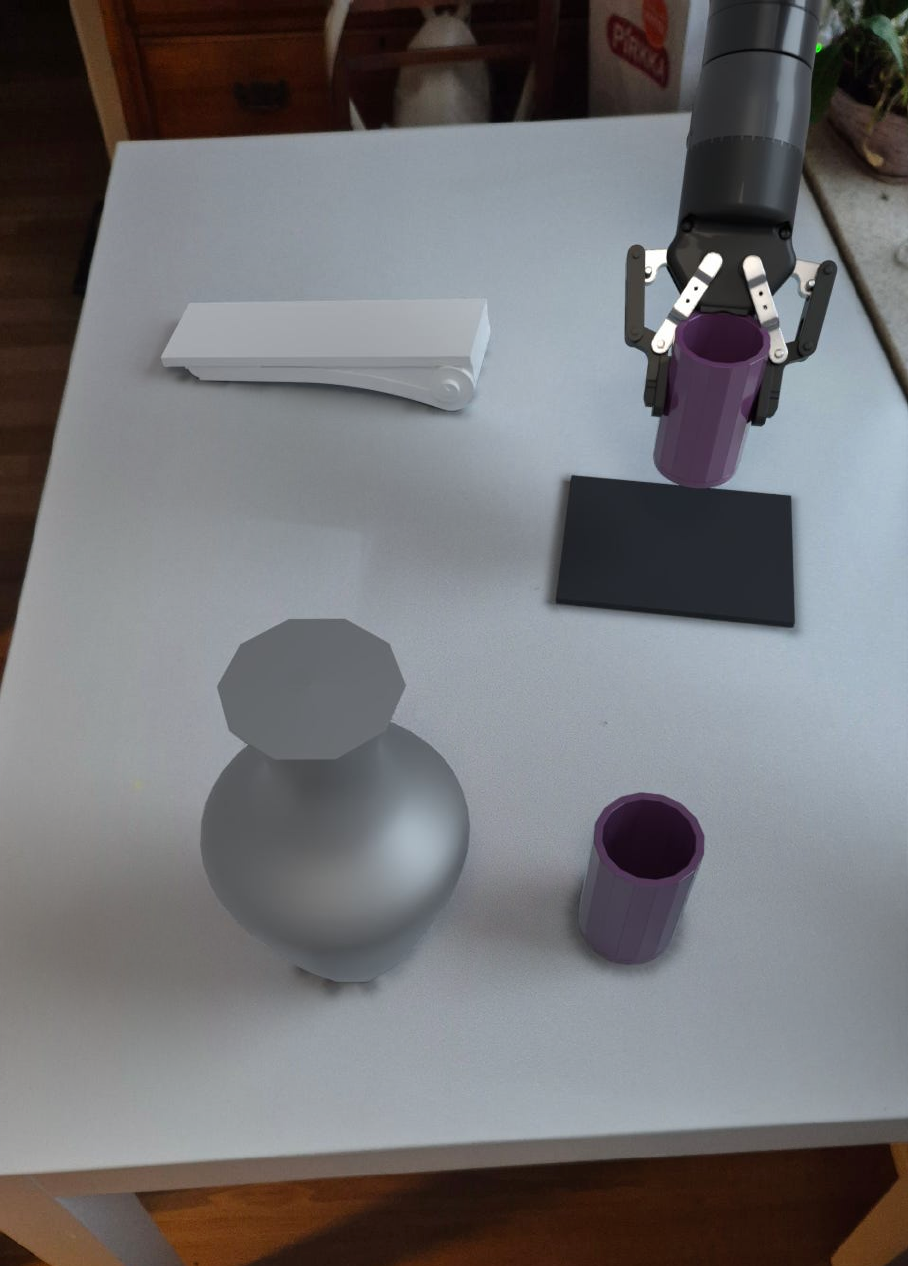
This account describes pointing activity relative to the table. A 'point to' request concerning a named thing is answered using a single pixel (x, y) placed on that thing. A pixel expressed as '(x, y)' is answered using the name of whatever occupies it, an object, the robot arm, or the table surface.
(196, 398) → the table surface
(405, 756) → the vase
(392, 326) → the wall bracket
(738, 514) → the mat
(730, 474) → the plum cup
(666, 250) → the robot arm
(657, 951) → the plum cup
